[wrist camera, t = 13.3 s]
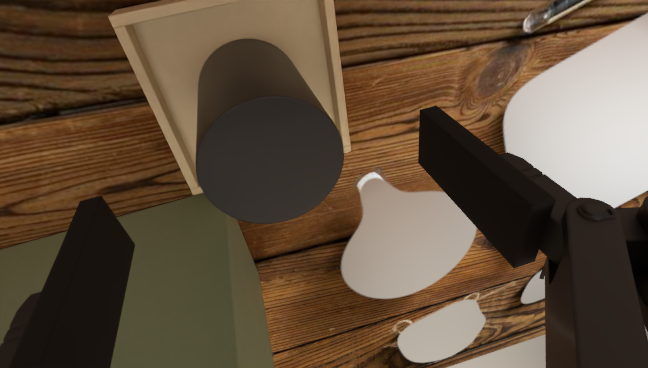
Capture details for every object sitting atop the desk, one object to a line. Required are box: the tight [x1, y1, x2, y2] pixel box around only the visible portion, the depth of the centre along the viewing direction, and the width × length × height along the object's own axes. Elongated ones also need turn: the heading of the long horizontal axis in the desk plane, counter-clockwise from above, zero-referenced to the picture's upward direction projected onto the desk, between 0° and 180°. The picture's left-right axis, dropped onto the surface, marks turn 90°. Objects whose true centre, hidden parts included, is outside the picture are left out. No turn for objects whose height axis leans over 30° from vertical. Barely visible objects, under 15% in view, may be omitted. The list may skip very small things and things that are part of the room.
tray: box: [108, 0, 351, 195], centre depth 24 cm, size 12×12×2 cm
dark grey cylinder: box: [196, 39, 344, 224], centre depth 20 cm, size 7×7×10 cm
